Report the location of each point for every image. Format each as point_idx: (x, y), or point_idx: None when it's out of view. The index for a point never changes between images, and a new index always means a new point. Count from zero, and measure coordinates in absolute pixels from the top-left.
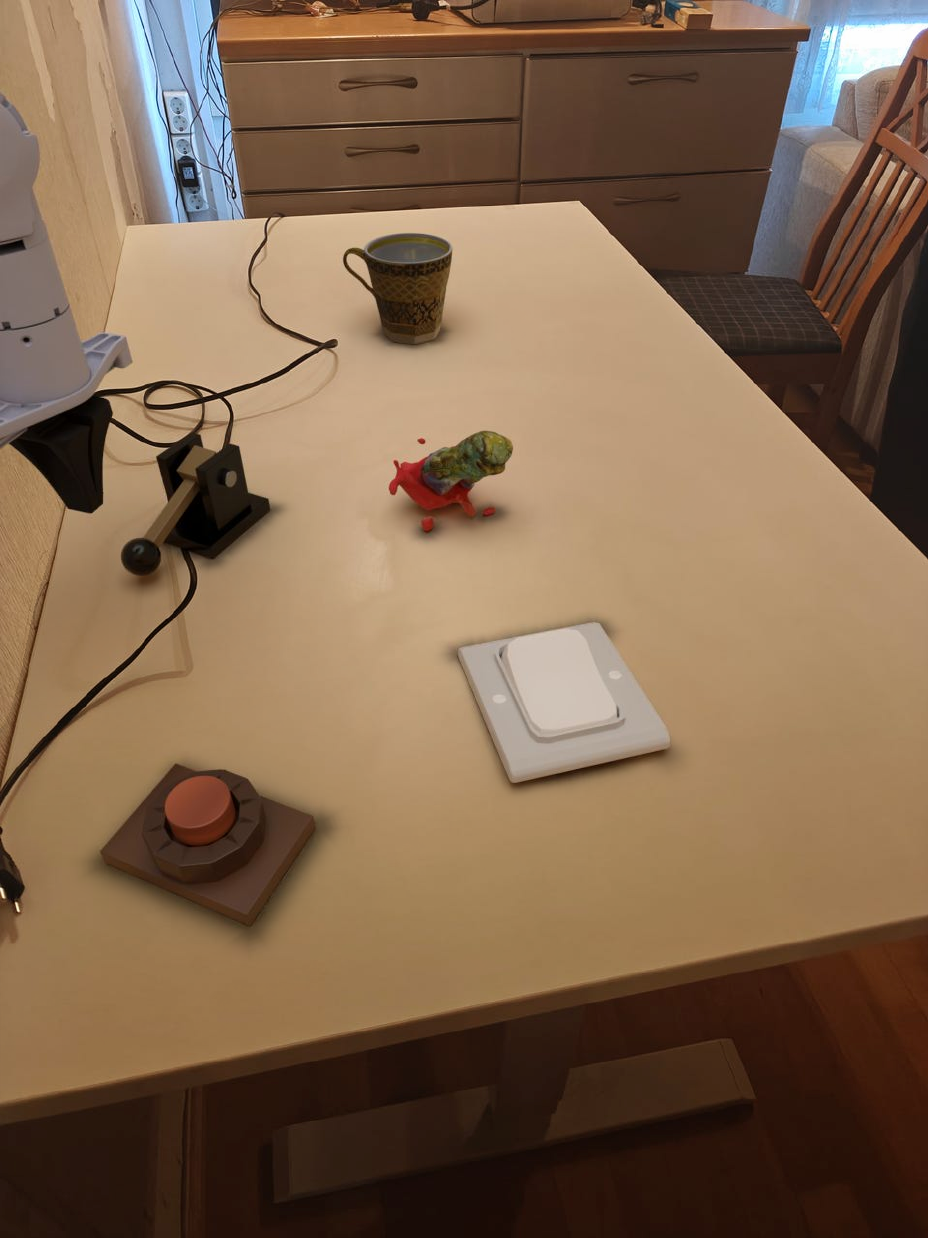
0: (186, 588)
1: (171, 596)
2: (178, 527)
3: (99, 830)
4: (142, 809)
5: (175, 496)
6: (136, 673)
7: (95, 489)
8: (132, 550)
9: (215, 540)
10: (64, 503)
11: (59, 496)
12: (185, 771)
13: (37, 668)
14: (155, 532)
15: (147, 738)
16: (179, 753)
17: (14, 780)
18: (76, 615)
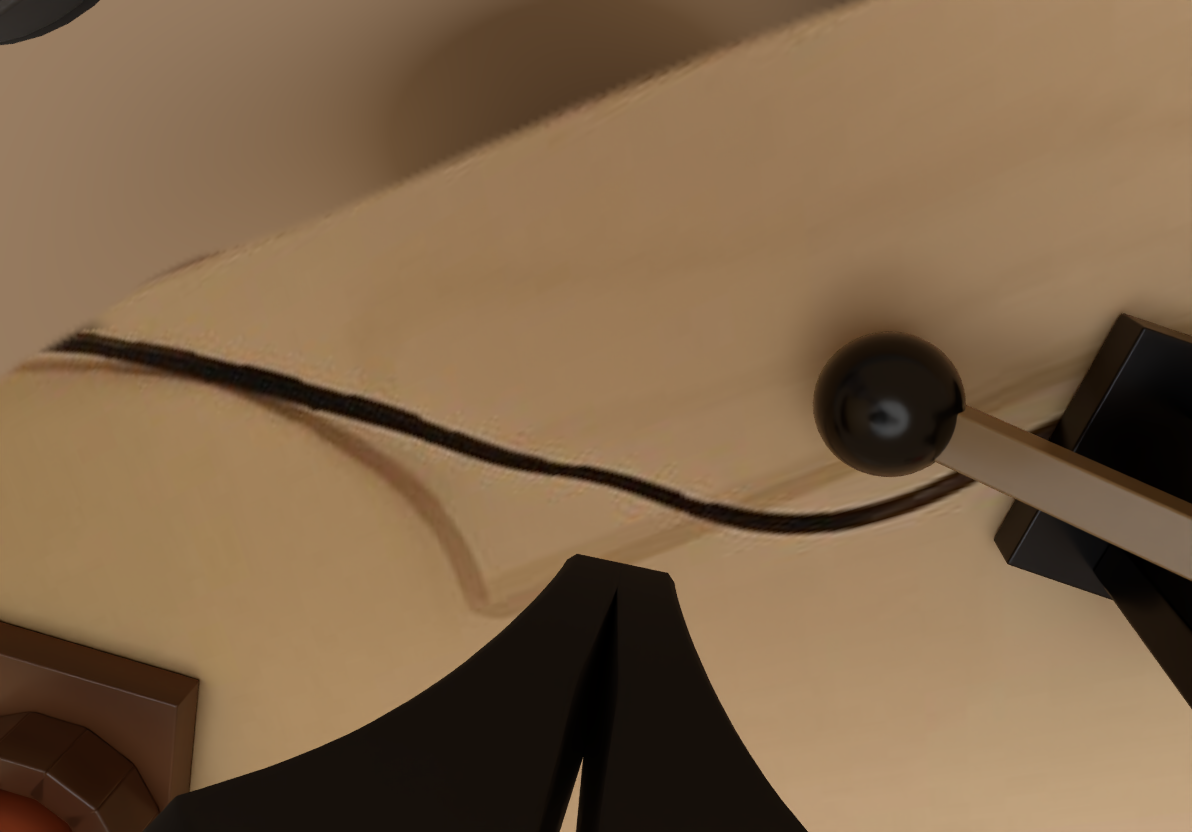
0: (831, 503)
1: (787, 472)
2: (1146, 419)
3: (31, 576)
4: (53, 682)
5: (1188, 532)
6: (453, 489)
7: (580, 790)
8: (853, 425)
9: (1051, 570)
10: (564, 566)
11: (552, 580)
12: (166, 728)
13: (405, 205)
14: (983, 465)
15: (266, 587)
16: (250, 662)
17: (62, 346)
18: (657, 208)
